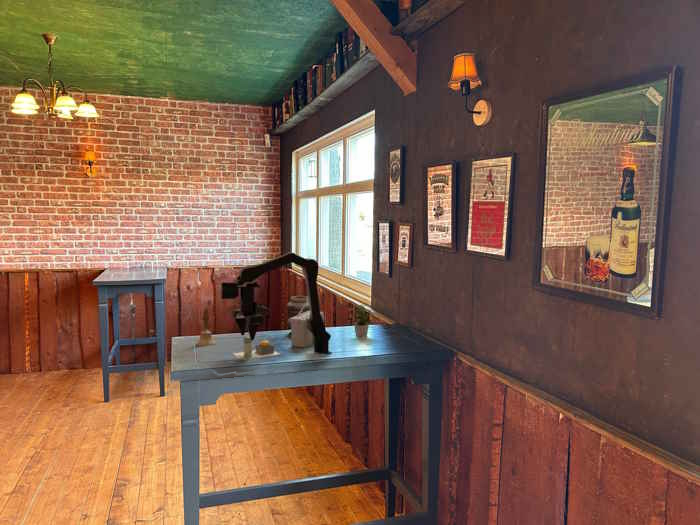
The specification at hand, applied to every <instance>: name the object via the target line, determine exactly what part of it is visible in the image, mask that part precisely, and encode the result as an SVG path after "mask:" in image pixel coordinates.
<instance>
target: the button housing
mask: <svg viewBox="0 0 700 525" xmlns="http://www.w3.org/2000/svg"><path fill="white" fill-rule="evenodd" d="M255 350H256V352H257V353H259V354H261V355H263V354H269V353H274V351H275V345H274V344H271V343H270V342H269V346H265V347H261V346H260V343H259V344H258V343H256V344H255Z"/></svg>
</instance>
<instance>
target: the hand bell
mask: <svg viewBox="0 0 700 525" xmlns="http://www.w3.org/2000/svg"><path fill="white" fill-rule="evenodd" d="M202 319H203V330H202V331H200V335H199V339H198V341H197V342H196V346H199V347H210V346H215V345H216V343H217V342H216V341H214V339H213V336H212V331H210V330H209V321H210V320H209V319H210V312H209V309H208V307H205V308H204V310H203V314H202Z"/></svg>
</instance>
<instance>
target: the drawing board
mask: <svg viewBox="0 0 700 525" xmlns="http://www.w3.org/2000/svg"><path fill="white" fill-rule="evenodd" d="M232 355H234V356H236V357H238V358H239V359H241V360H243V361H245V360H252V359H260V358H264V357H272V356H279V355H280V353H279V352H278V351H275V350H274V353H269V354H263V355H261V354H259V353H257V352H256V349H254V350H253V349H252V356H251V357H244V351H241V352H240V351H239V352H234V353H232Z"/></svg>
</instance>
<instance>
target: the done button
mask: <svg viewBox="0 0 700 525" xmlns="http://www.w3.org/2000/svg"><path fill="white" fill-rule="evenodd" d="M269 343H270V340H261V341H260V342H259V344H260V346H261V347H265V346H269Z"/></svg>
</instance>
